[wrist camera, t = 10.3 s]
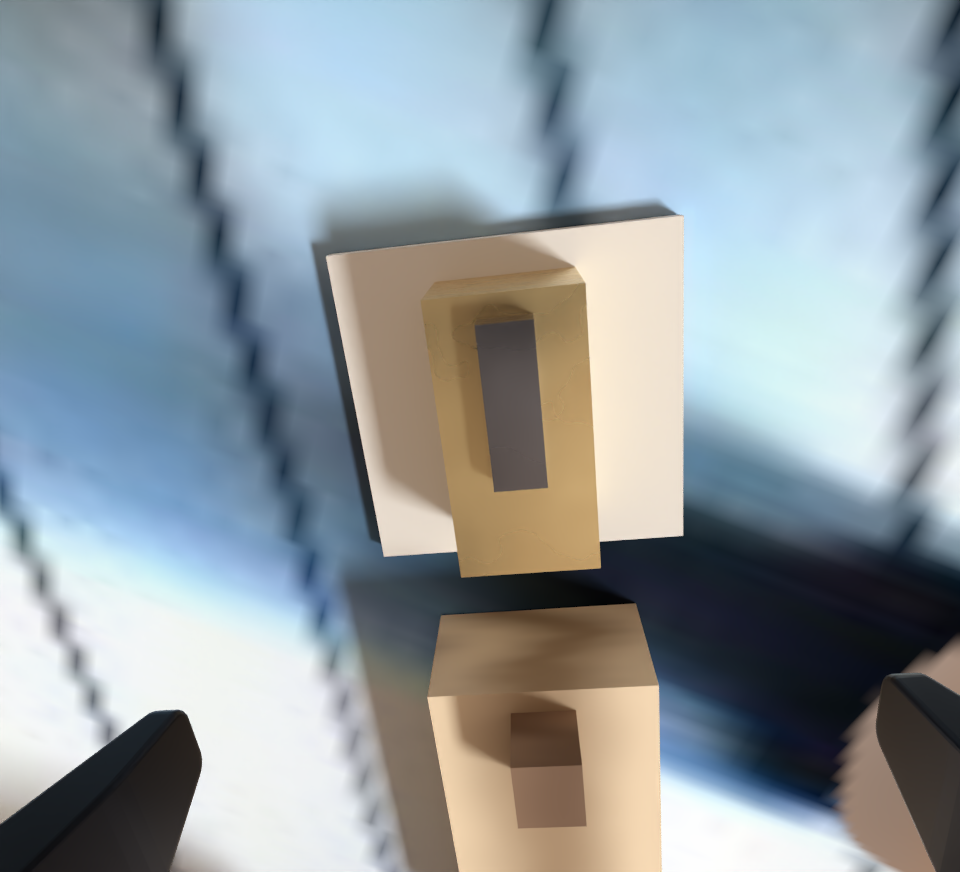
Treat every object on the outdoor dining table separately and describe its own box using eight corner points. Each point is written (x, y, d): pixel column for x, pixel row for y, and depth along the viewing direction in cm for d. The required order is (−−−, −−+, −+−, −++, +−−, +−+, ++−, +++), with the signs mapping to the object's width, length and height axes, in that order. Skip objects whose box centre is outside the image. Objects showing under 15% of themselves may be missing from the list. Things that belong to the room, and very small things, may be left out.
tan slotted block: (468, 525, 21) (459, 592, 18) (434, 281, 19) (416, 305, 15) (589, 516, 21) (604, 582, 18) (574, 266, 18) (588, 287, 15)
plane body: (488, 905, 29) (482, 1074, 24) (441, 615, 24) (418, 750, 18) (644, 902, 29) (675, 1075, 23) (635, 603, 23) (673, 739, 17)
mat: (387, 547, 23) (384, 556, 22) (331, 254, 19) (325, 256, 18) (678, 526, 22) (682, 535, 21) (678, 214, 18) (683, 215, 18)
